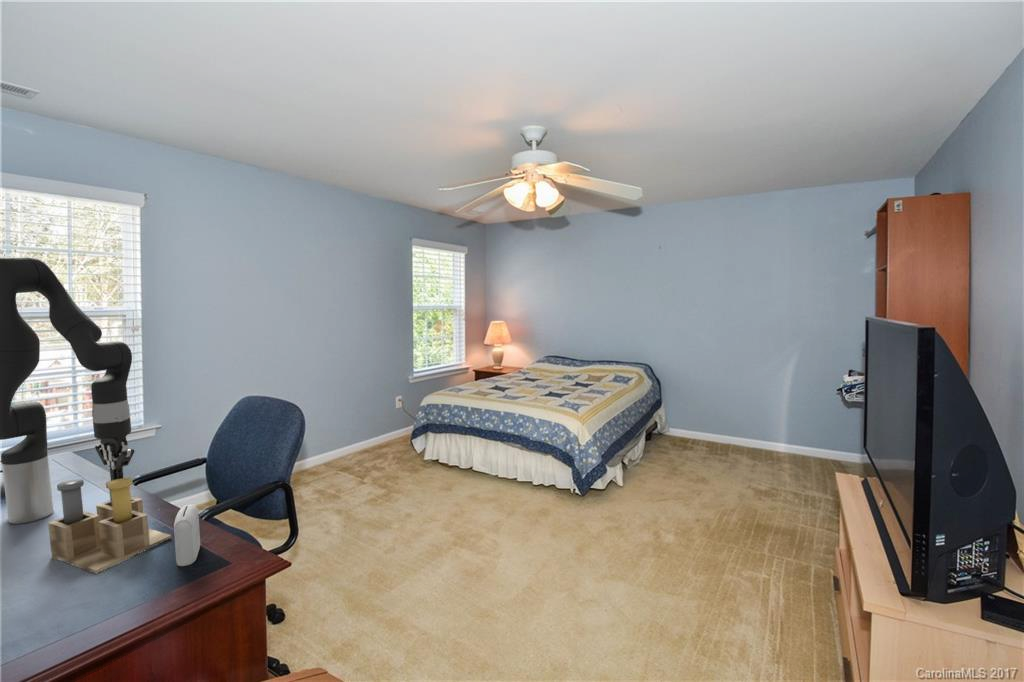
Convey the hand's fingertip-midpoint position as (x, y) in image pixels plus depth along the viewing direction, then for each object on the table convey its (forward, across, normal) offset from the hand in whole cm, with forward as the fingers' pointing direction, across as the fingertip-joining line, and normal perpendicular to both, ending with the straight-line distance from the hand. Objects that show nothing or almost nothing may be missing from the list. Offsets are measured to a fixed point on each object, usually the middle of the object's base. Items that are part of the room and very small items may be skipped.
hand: (117, 481), depth 127 cm
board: (+15, +6, -5) cm, 17 cm away
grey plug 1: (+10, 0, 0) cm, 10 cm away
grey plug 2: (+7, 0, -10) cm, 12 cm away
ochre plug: (+7, +11, -5) cm, 13 cm away
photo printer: (+15, +26, 0) cm, 31 cm away
